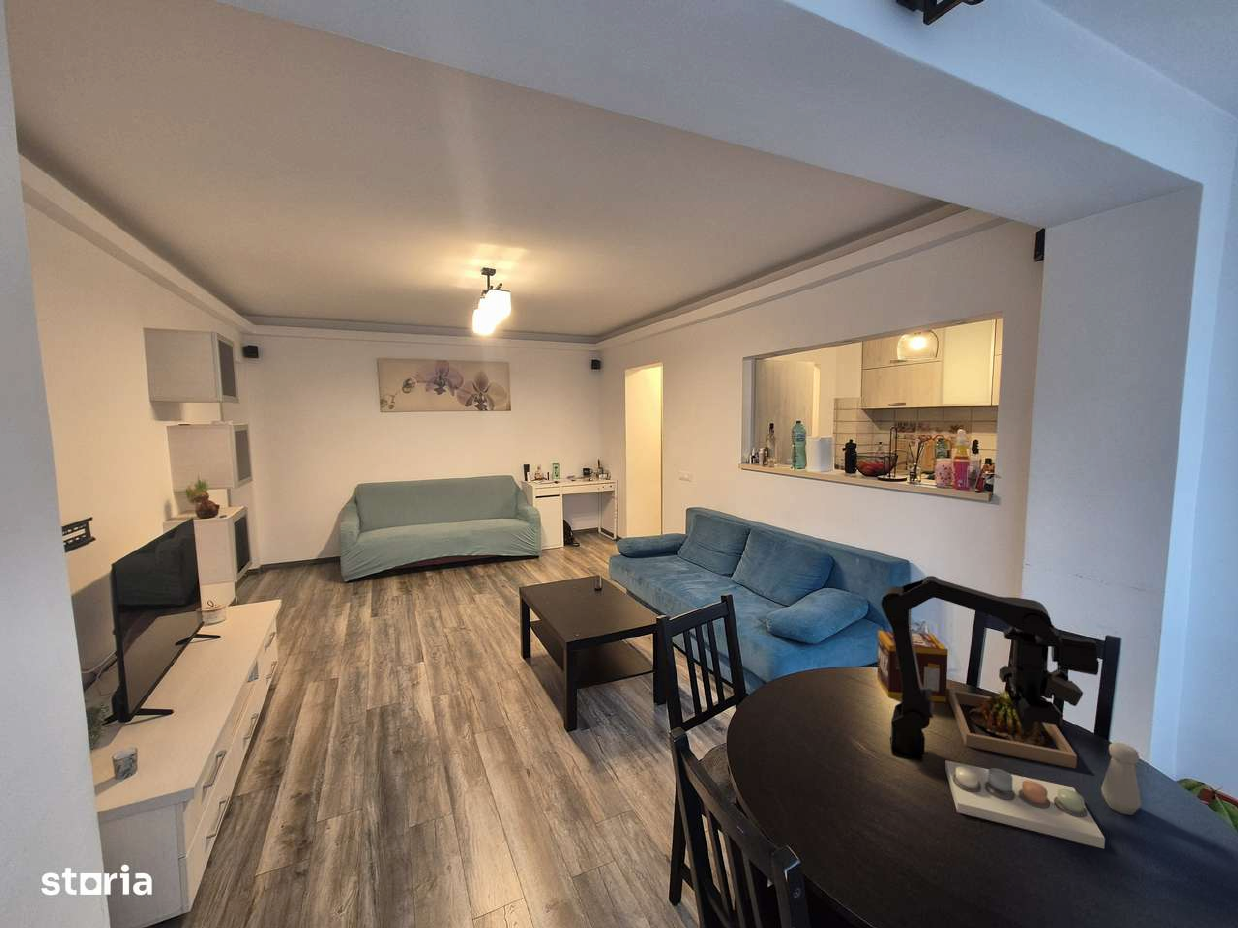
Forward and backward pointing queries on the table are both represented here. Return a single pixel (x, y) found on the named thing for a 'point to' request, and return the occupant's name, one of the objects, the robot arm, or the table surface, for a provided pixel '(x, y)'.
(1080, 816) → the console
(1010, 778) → the slate button
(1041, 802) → the terracotta button
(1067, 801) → the sage button
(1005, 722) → the cactus
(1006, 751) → the planter tray
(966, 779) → the ivory button
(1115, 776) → the salt shaker
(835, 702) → the table surface
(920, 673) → the supplement box
